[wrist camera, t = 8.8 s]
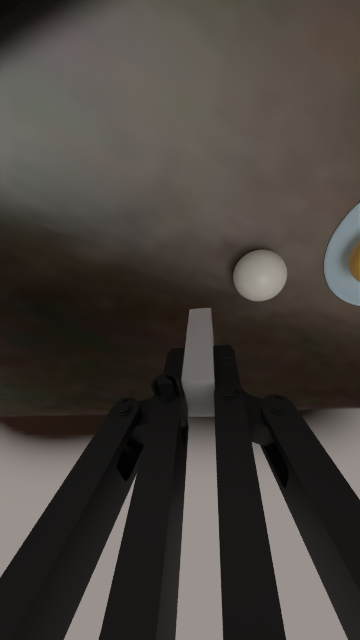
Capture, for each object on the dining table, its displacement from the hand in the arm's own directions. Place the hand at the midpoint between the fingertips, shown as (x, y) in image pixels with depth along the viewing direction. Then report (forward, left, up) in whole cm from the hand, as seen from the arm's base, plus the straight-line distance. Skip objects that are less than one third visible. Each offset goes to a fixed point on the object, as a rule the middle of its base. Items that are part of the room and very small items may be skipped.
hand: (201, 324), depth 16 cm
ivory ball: (+4, +5, -10) cm, 12 cm away
